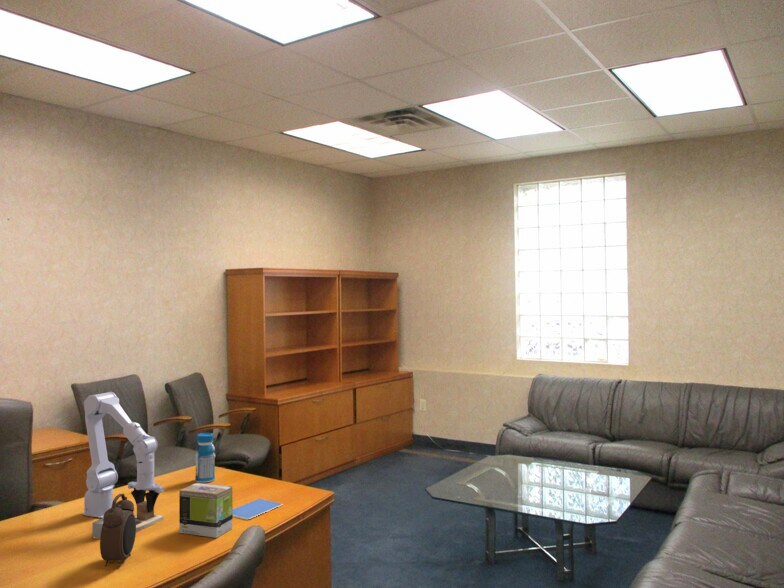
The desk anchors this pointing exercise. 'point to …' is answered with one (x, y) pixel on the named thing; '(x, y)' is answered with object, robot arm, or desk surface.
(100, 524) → the grey block
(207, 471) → the beverage bottle
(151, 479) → the robot arm
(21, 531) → the desk surface
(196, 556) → the desk surface
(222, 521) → the tea box
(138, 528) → the board
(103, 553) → the alarm clock
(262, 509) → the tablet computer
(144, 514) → the walnut block
